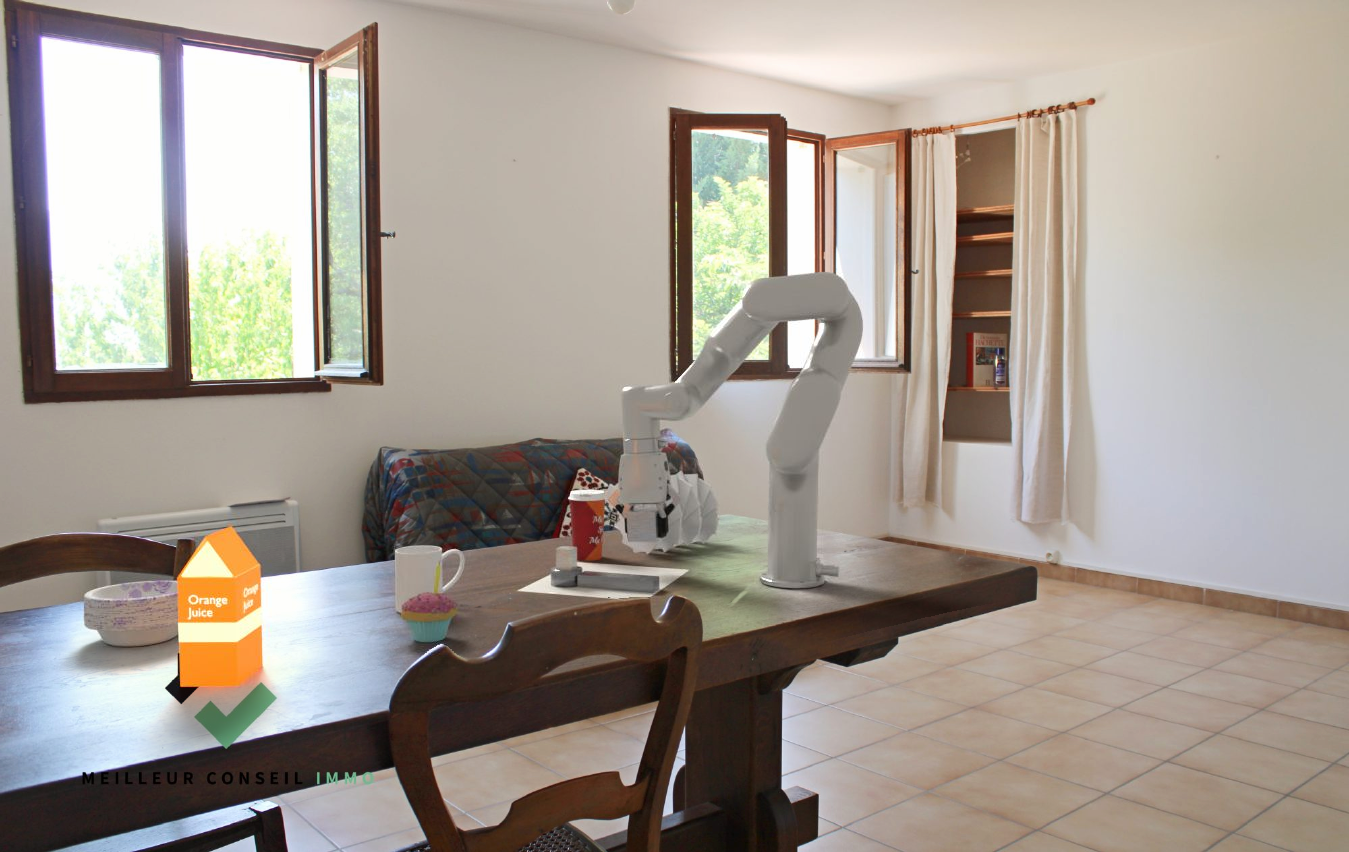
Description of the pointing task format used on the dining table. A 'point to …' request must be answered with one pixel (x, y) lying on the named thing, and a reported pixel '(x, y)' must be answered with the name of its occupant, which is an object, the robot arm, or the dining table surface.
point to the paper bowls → (133, 612)
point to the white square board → (664, 579)
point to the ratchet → (596, 576)
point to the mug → (420, 571)
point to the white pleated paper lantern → (680, 515)
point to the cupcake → (429, 613)
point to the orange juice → (220, 613)
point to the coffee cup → (587, 523)
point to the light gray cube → (643, 524)
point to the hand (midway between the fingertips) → (647, 536)
